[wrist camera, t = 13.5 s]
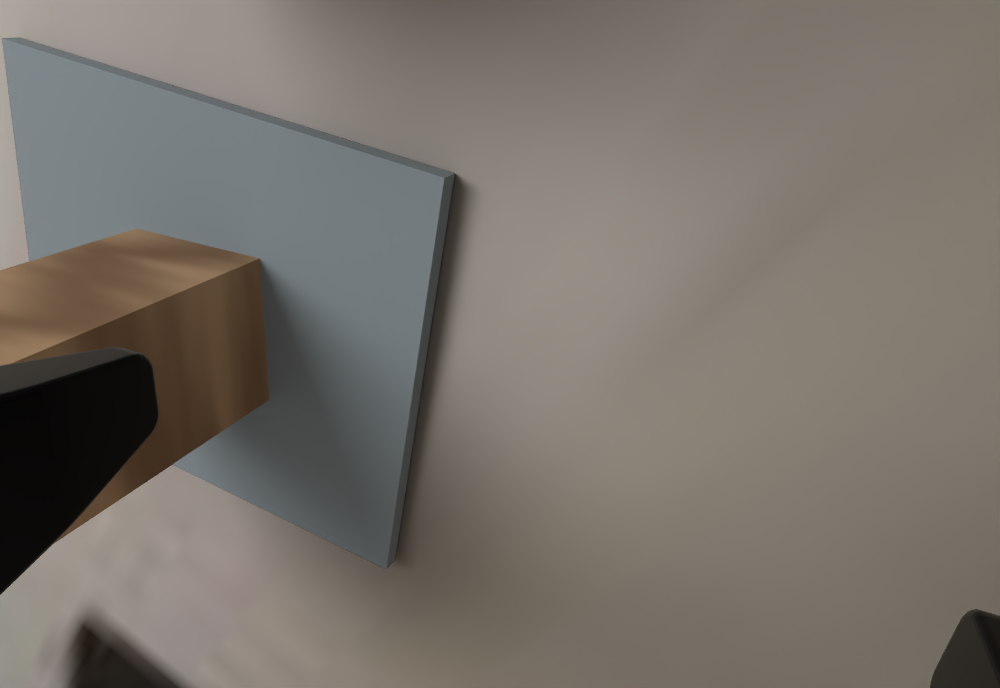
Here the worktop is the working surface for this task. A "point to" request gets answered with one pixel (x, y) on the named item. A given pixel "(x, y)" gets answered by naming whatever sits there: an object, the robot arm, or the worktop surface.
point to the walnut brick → (148, 333)
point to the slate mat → (283, 265)
